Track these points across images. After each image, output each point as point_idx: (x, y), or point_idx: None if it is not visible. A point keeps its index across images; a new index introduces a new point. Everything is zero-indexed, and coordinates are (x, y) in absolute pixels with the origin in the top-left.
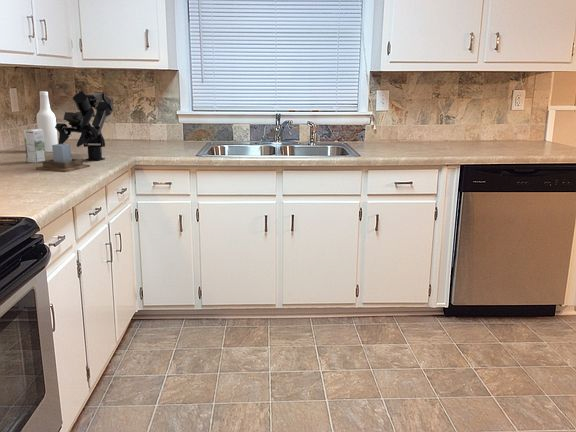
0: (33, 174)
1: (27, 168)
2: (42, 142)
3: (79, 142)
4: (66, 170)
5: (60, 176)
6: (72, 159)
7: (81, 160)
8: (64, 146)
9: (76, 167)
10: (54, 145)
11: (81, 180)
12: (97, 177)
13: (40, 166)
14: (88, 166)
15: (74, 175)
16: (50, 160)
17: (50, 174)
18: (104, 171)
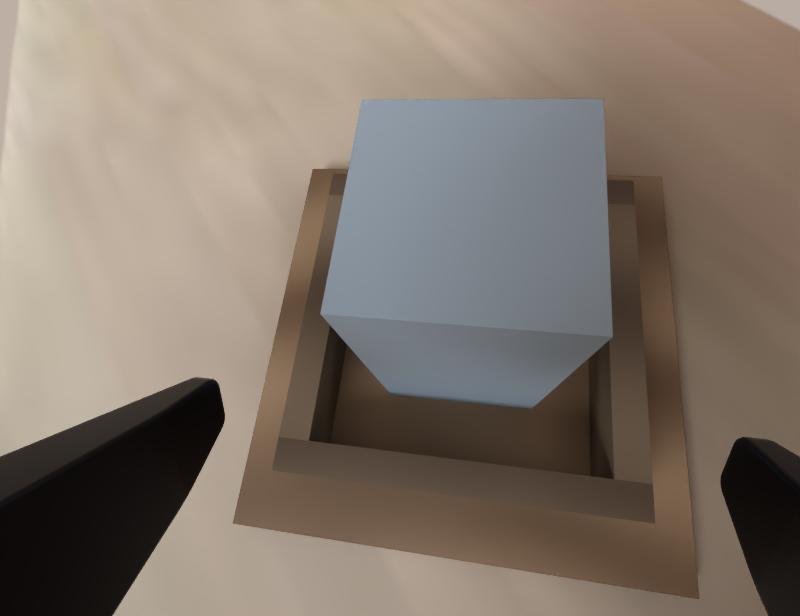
0: (480, 33)
1: (775, 199)
2: None
3: (110, 425)
4: (311, 184)
5: (261, 50)
6: (415, 454)
7: (279, 449)
8: (357, 168)
9: (286, 306)
10: (541, 104)
11: (88, 16)
12: (22, 108)
13: (663, 232)
14: (247, 494)
15: (188, 105)
16: None
17: (367, 73)
18: (25, 310)
